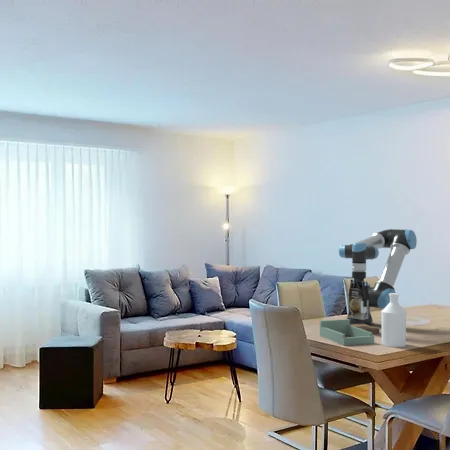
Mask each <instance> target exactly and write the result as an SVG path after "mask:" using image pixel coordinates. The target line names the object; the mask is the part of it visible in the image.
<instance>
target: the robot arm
mask: <svg viewBox="0 0 450 450" xmlns="http://www.w3.org/2000/svg"><path fill="white" fill-rule="evenodd" d="M417 239H418V238H417V234H416V232H415V231H414V230H412V229H407V228H406V229H400V228H399V229H398V228H397V229H394V228H393V229H392V228H391V229H389V228H388V229H384V230H381V231H378V232H376V233H375V232H374V233H373V234H372V235H371V236H370V237H367V238H364V239H362V240H361V239H360V240H358V241H356V242H354V243H351V244H342V245H340V246H339V249H338V255H339V257H340V258H344V259H351V270H352V272H351V278H352V279H350V284H349V289H350V288H356V289H359V290H363V293H362V300H361V301H362V305H361V313H367V300H369V303H368V319H363V320H360V319H354V318H349V312H348V314H347V317H346V319H349V320H350V324H366V325H369V326H372V325H373V324H374V323H373V322H374V321H373V317H372V314H371V310H370V308H376V309H381V310H383V309H384V308H385V307H386V306H387V305H388V304H389V303H390V296H389V293H396V290H395V287H394V285H395V283H396V280H397V278H398V275H399V273H400V271H401V270H400V269H401V268H402V265H403V262H404V259H405V257H406V256H407V255H409V253H410V251H411V250H414V249H416V247H417V242H418V241H417ZM383 248H384V249H385V248H386V249H390V253H389V255H388V258H387V260H386V263H385V266H384V267H383V271H382V273H381V276H380V278H379V280H377V281H376V282H375V283H374V286H371V285H370V284H369V282H368V281H365V279H366V278H367V272H366V271H367V261H368V260H376V259H377V258H378V256H379V253H380V252H379V249H383ZM368 290H369V293H368ZM348 297H349V294H348Z"/></svg>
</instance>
